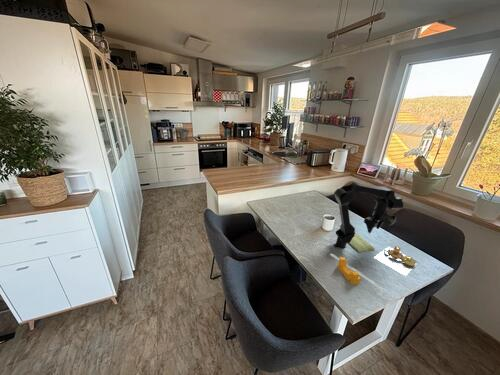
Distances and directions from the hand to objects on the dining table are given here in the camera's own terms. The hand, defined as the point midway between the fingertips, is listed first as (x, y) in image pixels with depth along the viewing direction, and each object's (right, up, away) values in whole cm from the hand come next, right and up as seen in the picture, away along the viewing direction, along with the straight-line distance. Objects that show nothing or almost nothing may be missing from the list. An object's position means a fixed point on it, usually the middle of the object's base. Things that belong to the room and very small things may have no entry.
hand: (373, 230), depth 121 cm
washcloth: (-7, -10, +7) cm, 14 cm away
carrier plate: (+8, -16, -7) cm, 19 cm away
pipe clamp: (-24, -20, -17) cm, 35 cm away
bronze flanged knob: (+9, -14, -5) cm, 17 cm away
